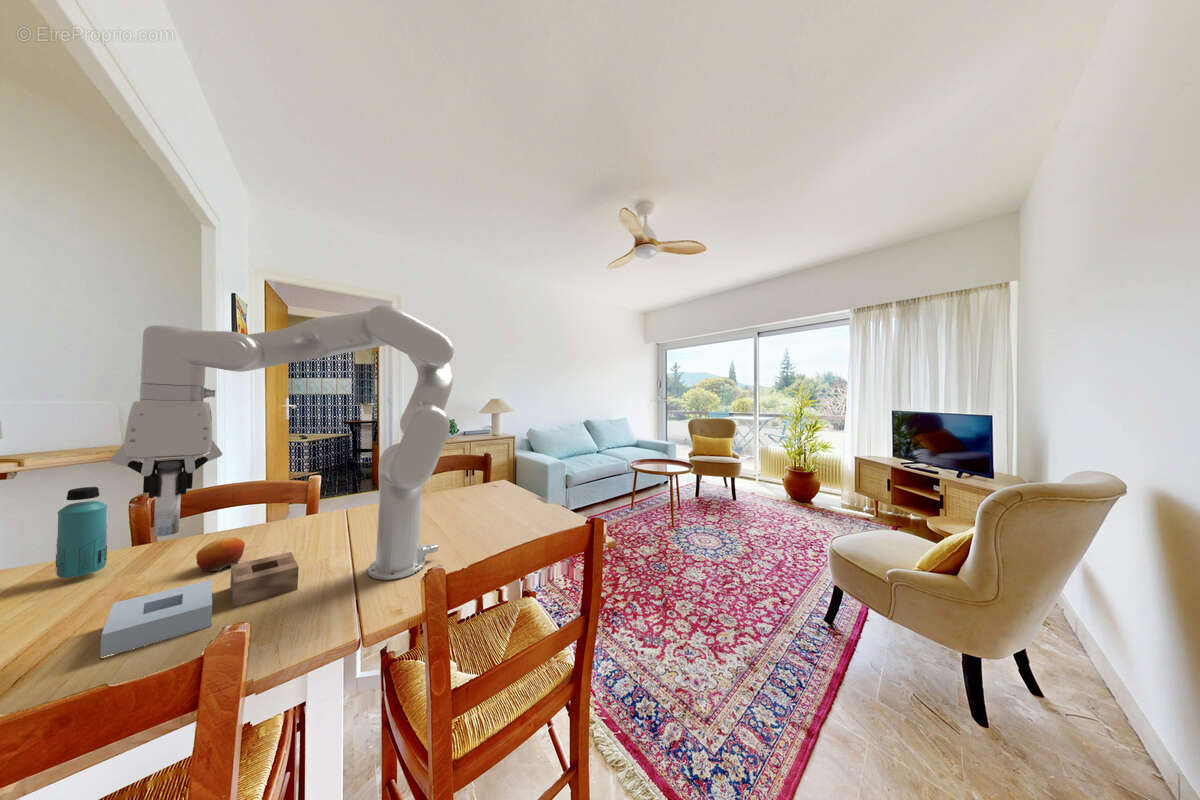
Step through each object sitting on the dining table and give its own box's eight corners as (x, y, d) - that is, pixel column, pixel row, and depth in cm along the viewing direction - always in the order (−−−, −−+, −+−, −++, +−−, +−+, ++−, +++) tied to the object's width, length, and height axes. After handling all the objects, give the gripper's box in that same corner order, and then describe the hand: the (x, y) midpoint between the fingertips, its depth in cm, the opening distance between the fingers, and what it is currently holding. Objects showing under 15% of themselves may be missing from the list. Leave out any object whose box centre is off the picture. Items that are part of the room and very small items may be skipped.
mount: (290, 572, 86) (291, 551, 86) (297, 589, 79) (298, 566, 79) (230, 587, 78) (231, 565, 78) (232, 607, 71) (234, 582, 71)
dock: (210, 598, 74) (211, 579, 74) (211, 626, 66) (212, 604, 66) (112, 624, 65) (113, 602, 65) (100, 659, 57) (101, 634, 57)
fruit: (219, 572, 82) (206, 540, 82) (196, 585, 83) (184, 553, 84) (259, 557, 89) (247, 527, 90) (237, 569, 91) (226, 540, 92)
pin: (182, 527, 68) (186, 457, 68) (181, 533, 65) (185, 460, 65) (150, 532, 65) (154, 459, 65) (148, 539, 63) (152, 462, 63)
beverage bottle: (103, 578, 79) (106, 488, 79) (49, 589, 74) (52, 493, 74) (109, 567, 84) (112, 482, 83) (58, 577, 79) (61, 487, 78)
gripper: (235, 395, 74) (231, 484, 74) (100, 391, 62) (95, 497, 62) (238, 397, 69) (233, 492, 69) (91, 393, 57) (86, 508, 57)
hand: (168, 493), depth 65 cm, fingers closed on pin, 3 cm apart
